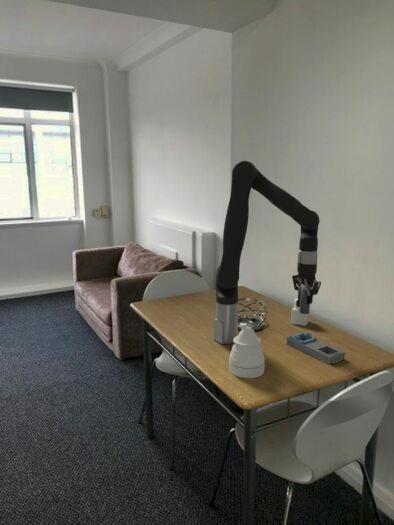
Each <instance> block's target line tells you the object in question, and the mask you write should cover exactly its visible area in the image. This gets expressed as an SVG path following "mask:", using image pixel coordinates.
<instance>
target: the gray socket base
mask: <svg viewBox="0 0 394 525" xmlns="http://www.w3.org/2000/svg"><path fill="white" fill-rule="evenodd" d="M286 345H288V346H290V347H292V348H294V349H296V350H298V351H300V352H302V353H303V354H304V353H305V354H306V355H308V356H310V355H311V357H312V356H313V357H312V358H314V357H315V359H316V358H317V359H316V360H318V359H320V360H319V361H321V360H322V361H321V362H323V361H324V362H323V363H325V362H326V363H325V364H327V363H328V364H327V365H329V364H330V365H332V364H331V363H333V362H336V361H339V360H341V359H344V358H345V359H346V351H343V350H341V349H339V348H337V347H335V346H332V345H330V344H328V343H325V342H323V341H321V340H318V339H317V338H316V337H315V336H312V333H311V332H309V331H308V332H306V333H305V332H299V333H296V334H293V335H290V336H288V337H286ZM327 353H328V354H327ZM345 359H344V360H345ZM339 362H340V361H339ZM336 363H337V362H336ZM333 364H334V363H333Z"/></svg>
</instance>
